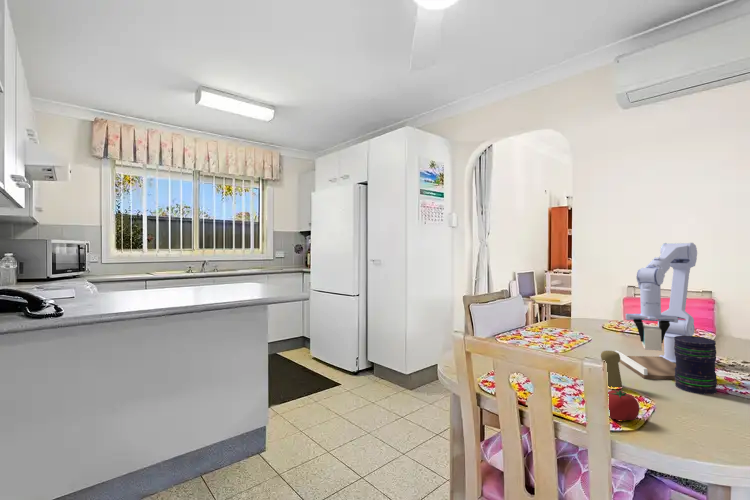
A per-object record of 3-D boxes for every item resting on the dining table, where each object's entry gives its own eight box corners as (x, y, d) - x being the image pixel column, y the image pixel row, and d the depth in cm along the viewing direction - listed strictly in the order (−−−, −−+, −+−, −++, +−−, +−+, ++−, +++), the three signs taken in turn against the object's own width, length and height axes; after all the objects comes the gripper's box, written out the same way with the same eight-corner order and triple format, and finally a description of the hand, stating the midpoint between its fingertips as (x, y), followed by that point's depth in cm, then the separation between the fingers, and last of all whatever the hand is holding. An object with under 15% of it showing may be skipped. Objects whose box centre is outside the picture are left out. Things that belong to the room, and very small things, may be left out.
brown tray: (661, 359, 143) (661, 351, 143) (699, 380, 122) (699, 370, 122) (614, 358, 146) (614, 350, 146) (644, 378, 125) (643, 369, 125)
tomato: (645, 421, 96) (645, 393, 95) (623, 428, 93) (622, 398, 93) (616, 409, 103) (615, 383, 103) (594, 414, 100) (593, 387, 100)
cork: (619, 383, 121) (618, 349, 121) (625, 390, 115) (624, 354, 115) (598, 382, 123) (597, 348, 123) (602, 388, 117) (601, 353, 117)
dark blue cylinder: (720, 397, 109) (719, 345, 109) (677, 391, 114) (676, 341, 114) (713, 385, 117) (712, 337, 117) (672, 380, 122) (671, 334, 122)
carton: (658, 345, 133) (657, 325, 133) (661, 350, 127) (661, 330, 127) (642, 344, 136) (641, 324, 136) (644, 349, 130) (644, 328, 130)
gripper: (626, 303, 132) (627, 342, 132) (679, 305, 124) (680, 346, 125) (624, 300, 138) (625, 337, 138) (675, 302, 131) (676, 341, 131)
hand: (651, 341), depth 132 cm, fingers closed on carton, 5 cm apart
